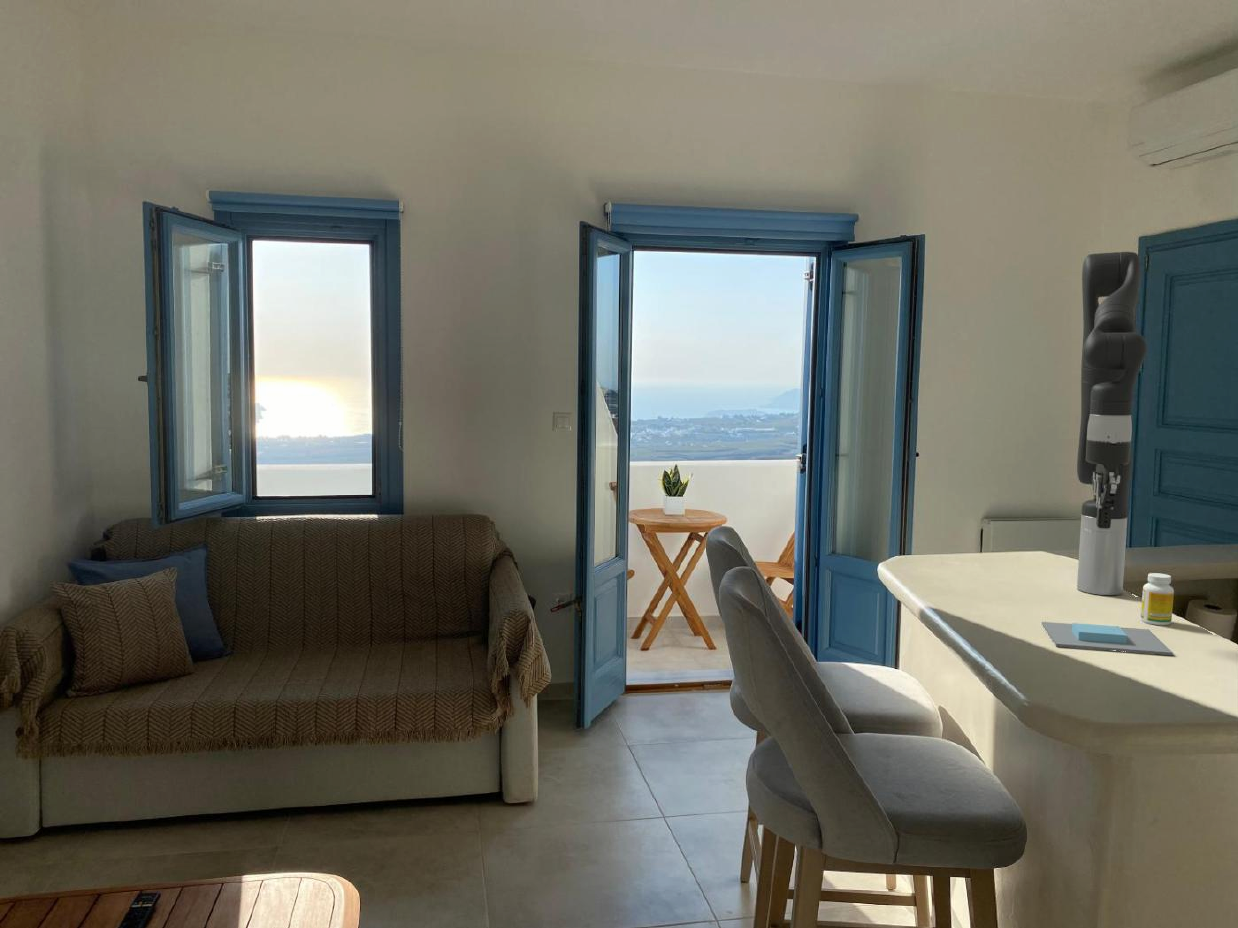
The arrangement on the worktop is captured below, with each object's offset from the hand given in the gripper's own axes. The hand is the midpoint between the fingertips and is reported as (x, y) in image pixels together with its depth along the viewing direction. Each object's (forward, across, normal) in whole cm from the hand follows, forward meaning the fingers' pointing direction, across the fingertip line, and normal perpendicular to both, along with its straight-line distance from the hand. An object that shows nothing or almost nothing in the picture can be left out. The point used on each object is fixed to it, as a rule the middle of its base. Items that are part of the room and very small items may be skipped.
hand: (1103, 527), depth 181 cm
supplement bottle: (+20, -8, +12) cm, 25 cm away
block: (+18, +6, -2) cm, 19 cm away
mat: (+20, +8, -1) cm, 21 cm away
